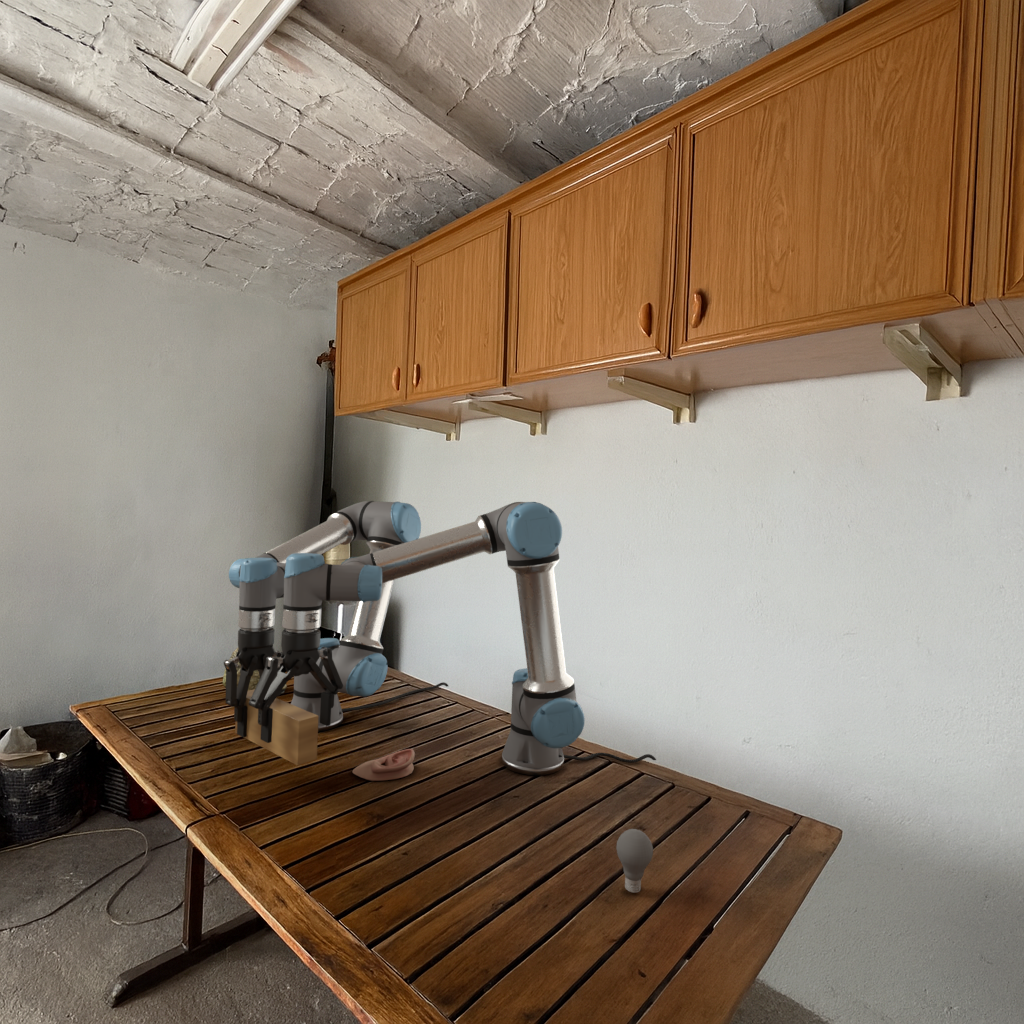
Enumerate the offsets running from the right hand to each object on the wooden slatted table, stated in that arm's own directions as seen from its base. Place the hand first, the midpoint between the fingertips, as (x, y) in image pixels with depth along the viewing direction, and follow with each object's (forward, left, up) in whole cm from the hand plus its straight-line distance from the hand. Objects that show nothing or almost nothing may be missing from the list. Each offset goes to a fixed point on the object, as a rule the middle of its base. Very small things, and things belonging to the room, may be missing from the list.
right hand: (296, 732), depth 130 cm
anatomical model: (-21, -8, -15) cm, 27 cm away
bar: (+3, -8, -5) cm, 10 cm away
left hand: (+7, -16, -5) cm, 18 cm away
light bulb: (-47, +52, -15) cm, 71 cm away
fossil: (+1, -77, -15) cm, 78 cm away
